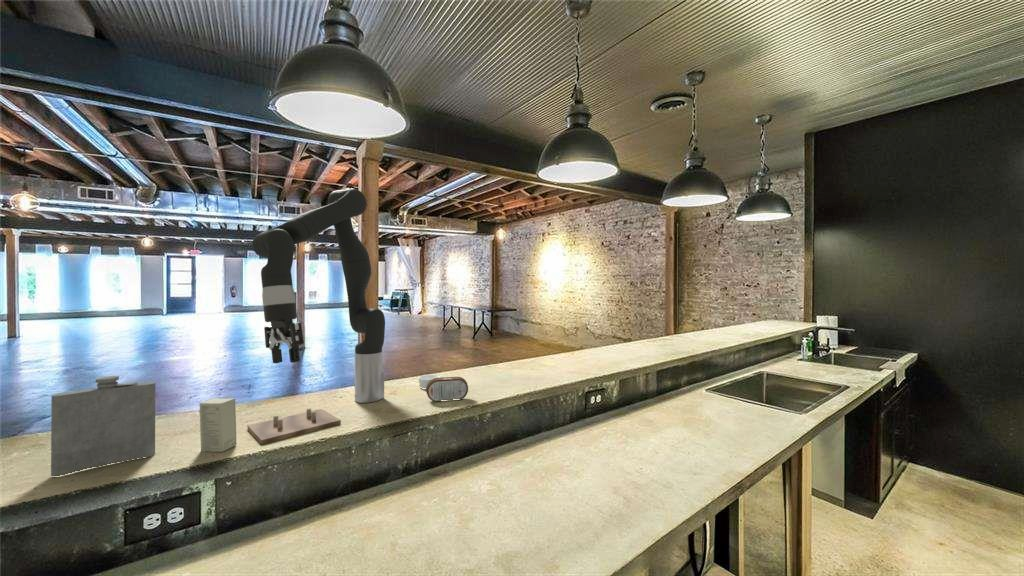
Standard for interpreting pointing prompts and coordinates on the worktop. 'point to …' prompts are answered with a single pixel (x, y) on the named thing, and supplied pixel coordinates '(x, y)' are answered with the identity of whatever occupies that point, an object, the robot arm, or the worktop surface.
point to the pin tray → (292, 425)
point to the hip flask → (102, 425)
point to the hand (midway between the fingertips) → (286, 362)
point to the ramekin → (426, 380)
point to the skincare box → (218, 424)
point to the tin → (447, 388)
